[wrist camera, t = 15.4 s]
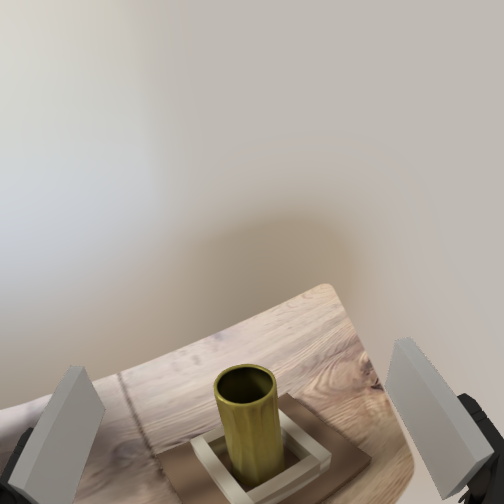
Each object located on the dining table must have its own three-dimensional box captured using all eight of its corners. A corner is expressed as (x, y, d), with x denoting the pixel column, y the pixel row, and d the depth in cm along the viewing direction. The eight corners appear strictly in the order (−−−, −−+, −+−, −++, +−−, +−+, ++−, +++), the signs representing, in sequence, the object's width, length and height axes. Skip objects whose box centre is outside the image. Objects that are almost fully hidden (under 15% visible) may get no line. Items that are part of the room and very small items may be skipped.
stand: (159, 460, 30) (146, 439, 29) (287, 399, 40) (286, 375, 39) (221, 558, 18) (211, 549, 16) (369, 463, 27) (377, 441, 26)
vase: (243, 441, 32) (225, 356, 27) (292, 451, 30) (289, 365, 25) (224, 479, 27) (194, 400, 22) (277, 492, 25) (269, 416, 20)
